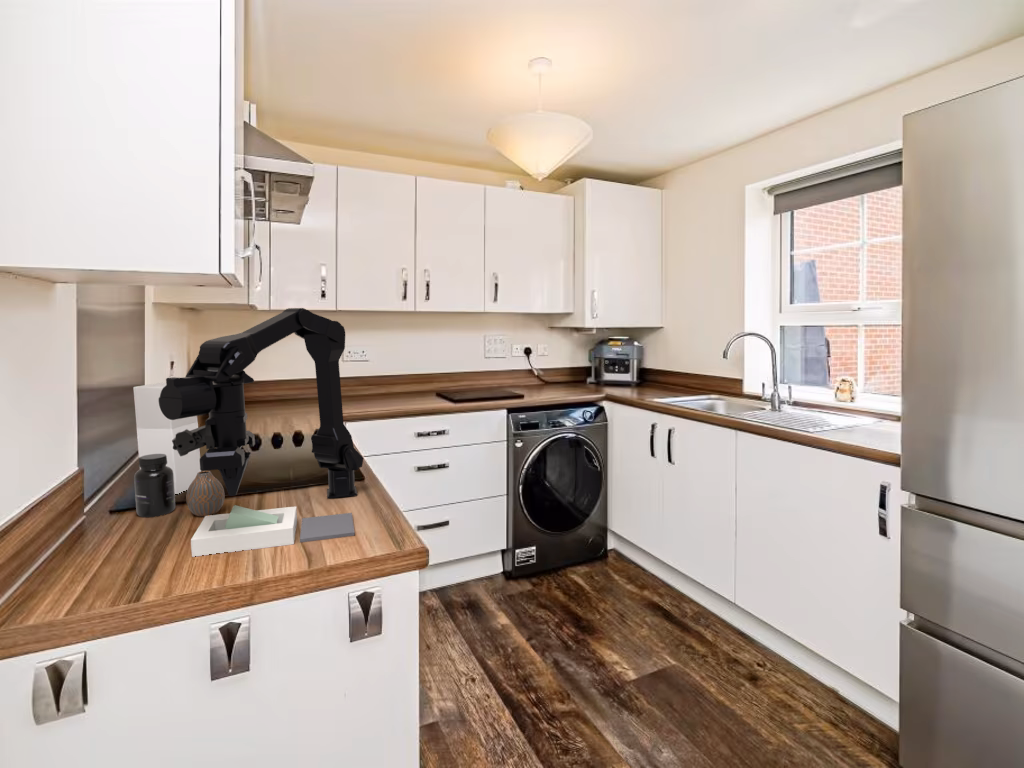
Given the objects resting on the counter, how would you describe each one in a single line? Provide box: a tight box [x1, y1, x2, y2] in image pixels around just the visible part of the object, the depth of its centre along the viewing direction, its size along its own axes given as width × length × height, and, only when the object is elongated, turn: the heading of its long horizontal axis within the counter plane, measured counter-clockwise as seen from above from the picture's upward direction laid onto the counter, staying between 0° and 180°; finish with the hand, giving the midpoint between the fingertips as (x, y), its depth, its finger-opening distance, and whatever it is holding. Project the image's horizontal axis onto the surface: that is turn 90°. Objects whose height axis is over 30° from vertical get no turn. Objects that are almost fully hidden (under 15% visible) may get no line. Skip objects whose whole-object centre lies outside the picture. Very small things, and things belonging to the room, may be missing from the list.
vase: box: [185, 470, 225, 517], centre depth 111 cm, size 7×7×9 cm
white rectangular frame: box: [190, 505, 298, 558], centre depth 99 cm, size 12×16×3 cm
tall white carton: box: [133, 382, 202, 495], centre depth 127 cm, size 9×9×25 cm
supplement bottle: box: [133, 454, 176, 518], centre depth 112 cm, size 7×7×12 cm
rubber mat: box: [299, 512, 355, 543], centre depth 104 cm, size 11×10×1 cm
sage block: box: [225, 504, 278, 529], centre depth 99 cm, size 4×8×3 cm, turn 109°
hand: (232, 495), depth 98 cm, fingers closed
